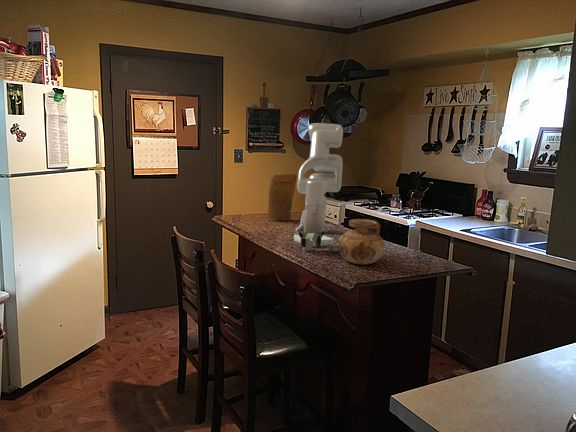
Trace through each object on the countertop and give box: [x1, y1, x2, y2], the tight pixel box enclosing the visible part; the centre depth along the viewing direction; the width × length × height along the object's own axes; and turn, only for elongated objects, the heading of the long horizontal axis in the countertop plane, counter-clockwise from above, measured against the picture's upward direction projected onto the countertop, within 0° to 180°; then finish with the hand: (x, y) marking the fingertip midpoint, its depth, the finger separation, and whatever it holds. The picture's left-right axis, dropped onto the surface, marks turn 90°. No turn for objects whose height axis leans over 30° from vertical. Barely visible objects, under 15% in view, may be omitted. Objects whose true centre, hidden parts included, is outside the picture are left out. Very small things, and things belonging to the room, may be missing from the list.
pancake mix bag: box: [266, 173, 298, 222], centre depth 286 cm, size 7×19×28 cm, turn 120°
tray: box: [293, 233, 335, 248], centre depth 234 cm, size 14×14×3 cm
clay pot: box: [338, 218, 385, 266], centre depth 203 cm, size 19×19×20 cm
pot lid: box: [328, 242, 341, 255], centre depth 220 cm, size 8×8×4 cm
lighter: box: [302, 233, 319, 252], centre depth 219 cm, size 7×2×8 cm, turn 115°
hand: (310, 245), depth 220 cm, fingers closed on lighter, 7 cm apart
